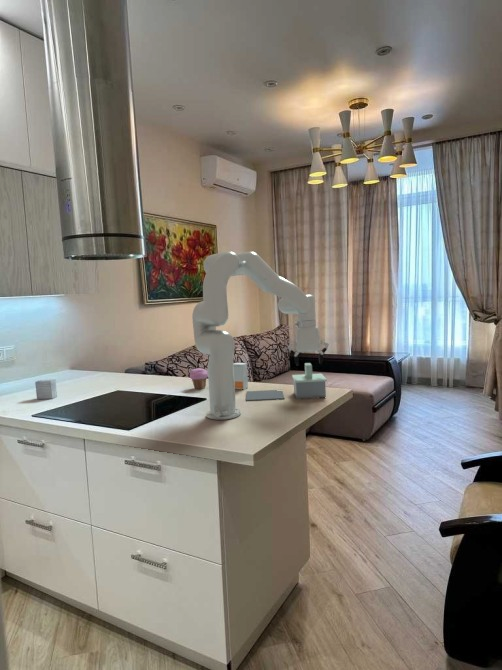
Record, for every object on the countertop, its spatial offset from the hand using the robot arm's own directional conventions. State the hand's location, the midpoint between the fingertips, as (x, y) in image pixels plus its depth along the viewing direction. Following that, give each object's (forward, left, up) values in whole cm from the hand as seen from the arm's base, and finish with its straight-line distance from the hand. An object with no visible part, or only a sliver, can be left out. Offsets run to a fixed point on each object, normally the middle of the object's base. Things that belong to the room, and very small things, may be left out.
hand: (309, 364), depth 187 cm
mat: (+3, +19, -13) cm, 24 cm away
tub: (0, 0, -13) cm, 13 cm away
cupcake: (+25, +50, -13) cm, 58 cm away
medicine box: (+20, +122, -13) cm, 125 cm away
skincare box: (+20, +30, -13) cm, 39 cm away
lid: (0, 0, -6) cm, 6 cm away
